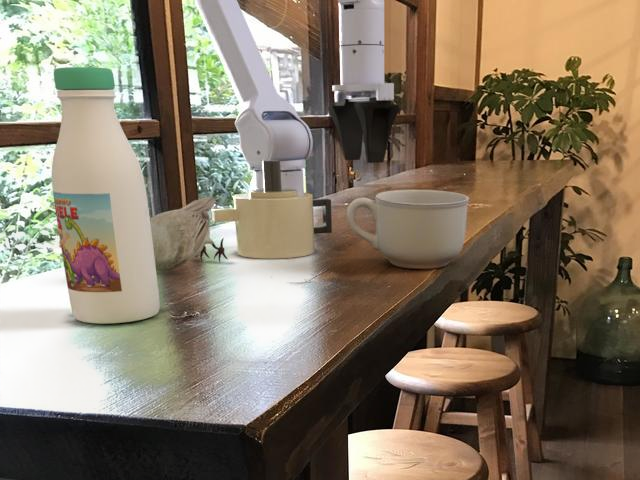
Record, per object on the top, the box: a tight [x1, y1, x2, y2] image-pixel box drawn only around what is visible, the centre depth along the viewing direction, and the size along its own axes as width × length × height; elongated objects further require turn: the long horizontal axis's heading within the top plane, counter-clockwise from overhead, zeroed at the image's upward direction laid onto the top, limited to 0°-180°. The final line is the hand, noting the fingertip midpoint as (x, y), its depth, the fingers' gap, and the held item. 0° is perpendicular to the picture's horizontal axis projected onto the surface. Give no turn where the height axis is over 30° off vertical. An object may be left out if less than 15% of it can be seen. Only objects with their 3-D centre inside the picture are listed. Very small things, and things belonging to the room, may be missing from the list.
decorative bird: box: [150, 196, 228, 272], centre depth 91 cm, size 5×16×8 cm, turn 152°
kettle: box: [210, 160, 333, 260], centre depth 103 cm, size 16×10×11 cm, turn 115°
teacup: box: [346, 189, 470, 270], centre depth 94 cm, size 14×11×8 cm
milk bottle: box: [51, 66, 161, 324], centre depth 69 cm, size 8×8×20 cm
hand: (363, 161), depth 109 cm, fingers open, 7 cm apart
